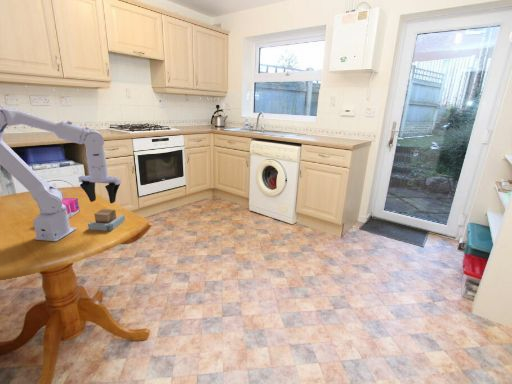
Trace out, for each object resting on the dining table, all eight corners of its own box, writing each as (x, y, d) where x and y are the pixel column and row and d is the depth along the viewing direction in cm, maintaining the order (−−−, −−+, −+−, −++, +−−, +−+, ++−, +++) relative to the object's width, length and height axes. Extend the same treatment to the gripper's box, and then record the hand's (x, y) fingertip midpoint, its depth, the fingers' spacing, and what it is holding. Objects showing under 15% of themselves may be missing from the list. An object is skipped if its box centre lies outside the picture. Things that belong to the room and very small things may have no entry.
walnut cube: (109, 227, 101) (107, 214, 100) (96, 226, 102) (94, 213, 100) (117, 221, 106) (115, 209, 104) (104, 220, 106) (102, 208, 105)
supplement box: (80, 211, 115) (63, 223, 104) (66, 210, 115) (47, 222, 104) (78, 198, 113) (60, 209, 102) (63, 197, 113) (43, 208, 102)
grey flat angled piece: (110, 231, 99) (110, 225, 98) (88, 229, 100) (87, 223, 99) (125, 220, 108) (124, 215, 107) (104, 218, 109) (104, 213, 108)
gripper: (123, 164, 99) (127, 199, 104) (85, 161, 101) (91, 196, 105) (111, 168, 93) (117, 206, 97) (71, 166, 94) (78, 203, 98)
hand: (102, 201), depth 101 cm, fingers open, 7 cm apart
